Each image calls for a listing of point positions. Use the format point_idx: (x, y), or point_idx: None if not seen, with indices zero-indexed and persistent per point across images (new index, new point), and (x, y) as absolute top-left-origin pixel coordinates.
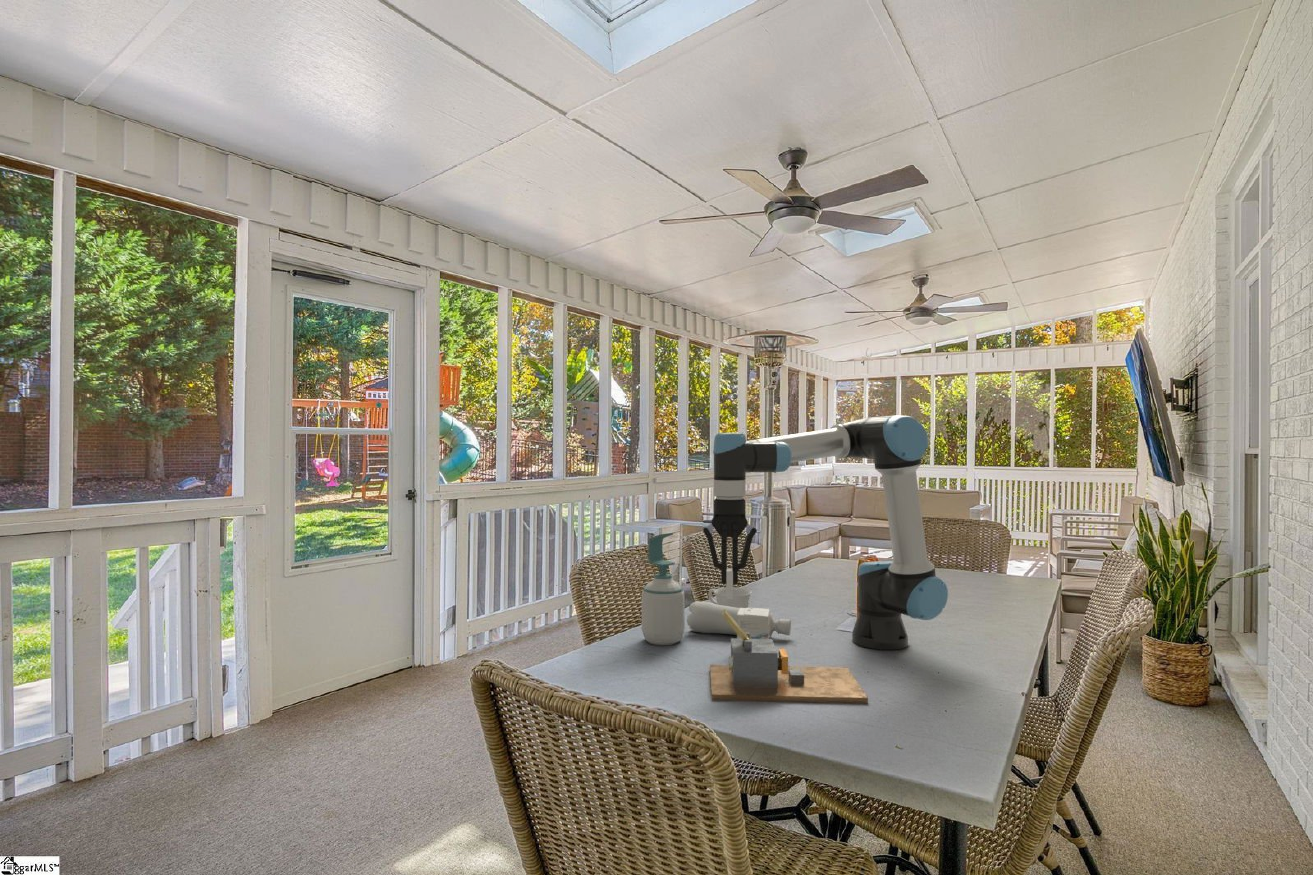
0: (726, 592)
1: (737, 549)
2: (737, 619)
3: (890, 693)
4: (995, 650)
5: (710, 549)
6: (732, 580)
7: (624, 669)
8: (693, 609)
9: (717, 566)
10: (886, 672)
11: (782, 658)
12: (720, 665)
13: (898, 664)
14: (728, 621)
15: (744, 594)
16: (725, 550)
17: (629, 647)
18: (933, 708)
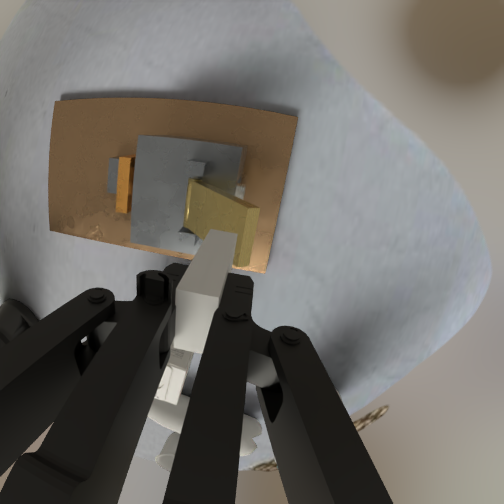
0: (233, 252)
1: (72, 397)
2: (187, 362)
3: (28, 142)
4: None
5: (361, 445)
6: (193, 263)
7: (404, 287)
8: (251, 441)
9: (282, 332)
10: (18, 223)
11: (131, 157)
12: (245, 267)
13: (8, 250)
14: (240, 199)
15: (166, 461)
16: (198, 425)
17: (364, 374)
18: (11, 97)
